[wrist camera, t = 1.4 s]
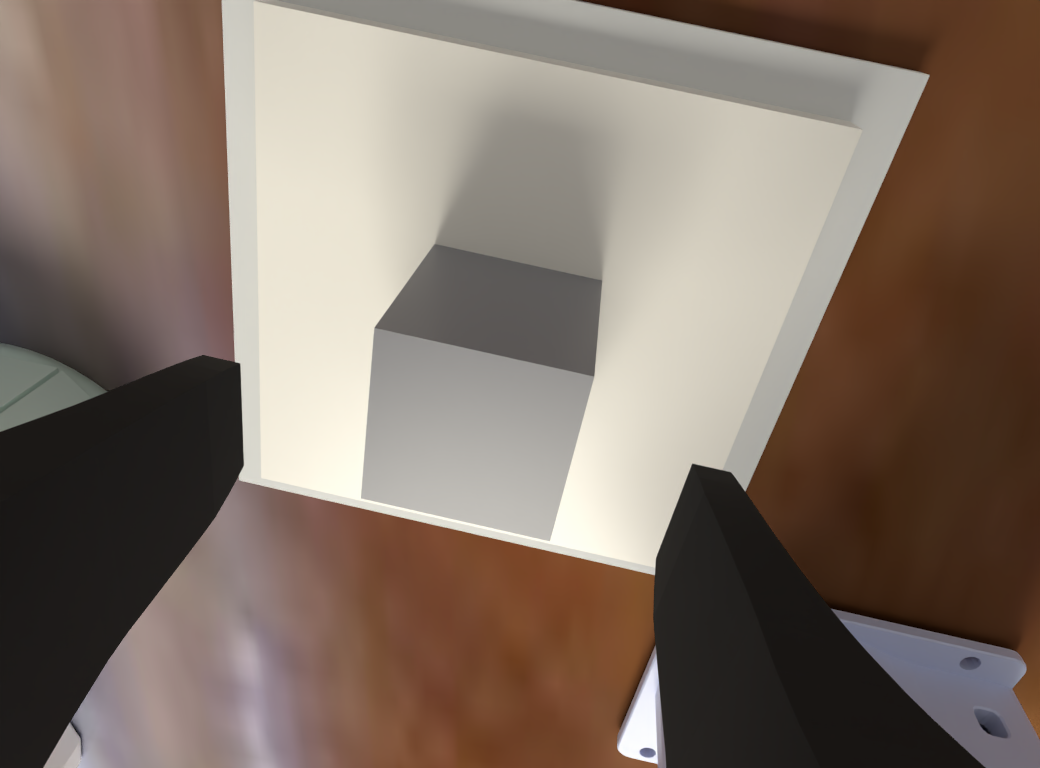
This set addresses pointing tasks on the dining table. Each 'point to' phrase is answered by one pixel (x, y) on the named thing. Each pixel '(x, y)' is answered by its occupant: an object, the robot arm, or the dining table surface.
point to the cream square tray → (624, 49)
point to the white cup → (66, 751)
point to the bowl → (37, 386)
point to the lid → (516, 275)
